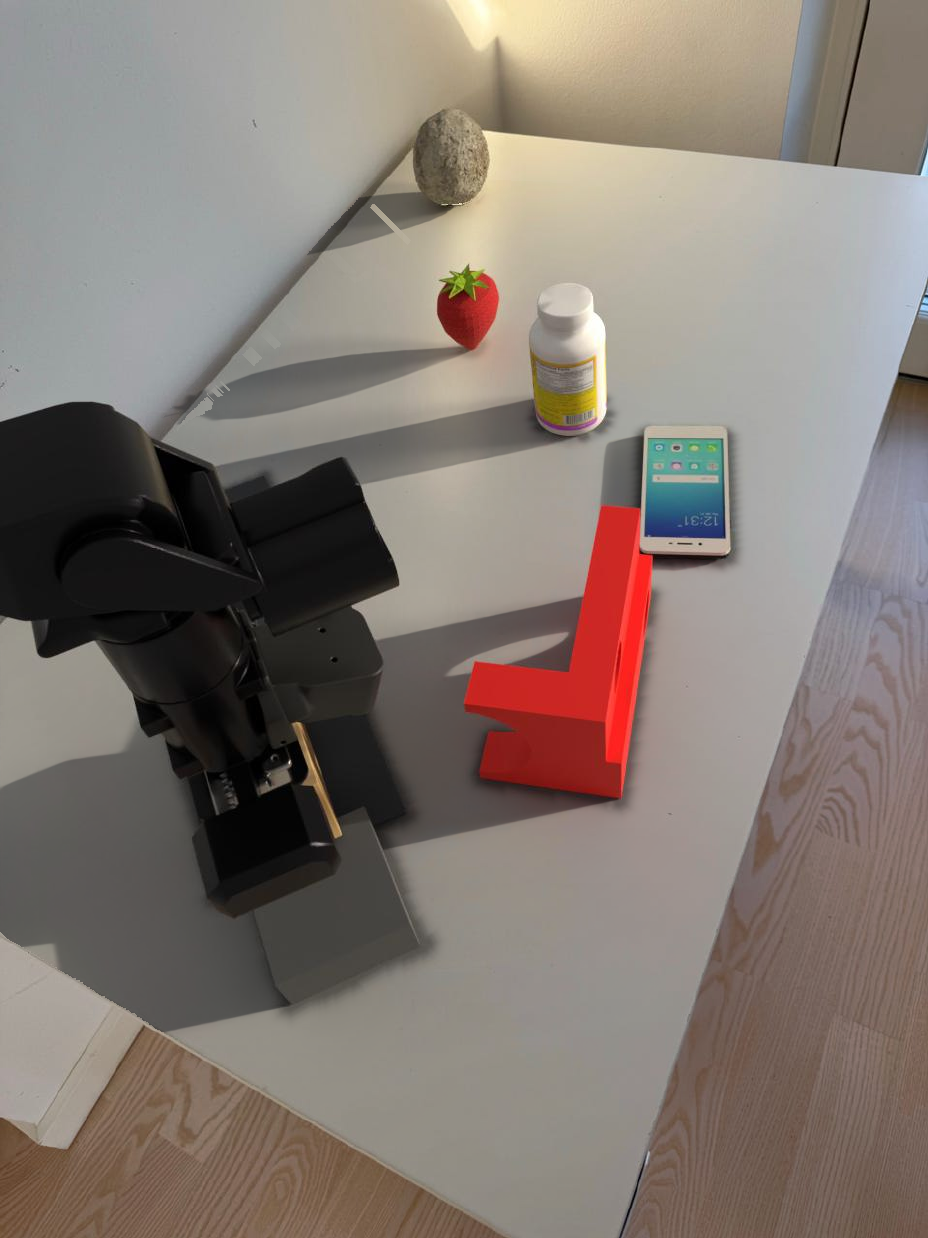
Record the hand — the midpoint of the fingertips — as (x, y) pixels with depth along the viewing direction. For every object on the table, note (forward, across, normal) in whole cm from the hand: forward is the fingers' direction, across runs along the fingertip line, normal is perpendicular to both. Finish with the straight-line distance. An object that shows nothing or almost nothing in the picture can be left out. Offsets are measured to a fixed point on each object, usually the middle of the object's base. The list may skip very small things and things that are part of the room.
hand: (274, 802), depth 58 cm
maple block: (+6, +2, 0) cm, 6 cm away
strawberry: (+13, +48, -31) cm, 59 cm away
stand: (+13, -2, 0) cm, 13 cm away
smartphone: (+13, +20, -40) cm, 46 cm away
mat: (+13, +22, 0) cm, 25 cm away
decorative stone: (+13, +74, -40) cm, 86 cm away
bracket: (+13, +7, -22) cm, 27 cm away
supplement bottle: (+13, +34, -35) cm, 51 cm away
